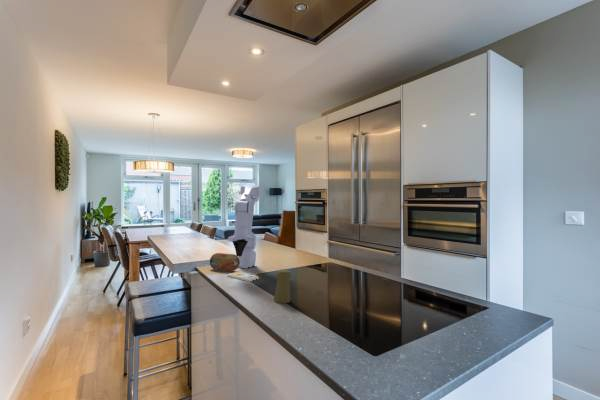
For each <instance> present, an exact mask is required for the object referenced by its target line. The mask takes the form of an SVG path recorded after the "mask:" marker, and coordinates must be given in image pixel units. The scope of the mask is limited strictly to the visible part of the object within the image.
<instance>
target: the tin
mask: <svg viewBox="0 0 600 400" xmlns="http://www.w3.org/2000/svg"><path fill="white" fill-rule="evenodd" d="M239 264H240V260H239V258H238V256H236V254H234V253H223V252H216V253H214V254H212V255H211V257H210V259H209V265H210V267H211V268H212V269H213V270H215V271H222V272H223V271H224V272H230V273H231V272H233V271H236V270H237V269H239V268H240V267H239Z"/></svg>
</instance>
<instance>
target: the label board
mask: <svg viewBox="0 0 600 400" xmlns="http://www.w3.org/2000/svg"><path fill="white" fill-rule="evenodd" d="M226 276H227V278H228V277H229V278H233V279H237V280H241V281H244V280H245V282H249V283H251V282H253V280H254V281H257V280H259V278H260V277H259V276H257V275H253V274H252V275H251V274H247V273H243V272H239V271H235V272H232V273H231V272H230V273H228V274H227V275H226ZM256 279H257V280H256Z"/></svg>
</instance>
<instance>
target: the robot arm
mask: <svg viewBox="0 0 600 400" xmlns="http://www.w3.org/2000/svg"><path fill="white" fill-rule="evenodd" d="M260 193H261V186H260V185H257V184H256V185H255V184H244V183H243V184H241V185H240V197H239V200H237V201H235V205H234V211H235V212H234V217H235V221H234V233H233V235H232V236H228V238H227V241H228V242H232V244H233V246H234V249H235V255H236V256H237V257H238V258H239V260H240V264H239V267H238V268H243V269H249V268H248V267H250V268H253V267H252V266H253V265H256V260H257V259H256V258H257V253H256V251H255V249H256V243H257V236H256V234H255V233H254V232H253V230H252V229H253V218H254V208H255V204H256V203H257V202H259V199H260Z"/></svg>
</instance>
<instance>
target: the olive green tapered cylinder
mask: <svg viewBox="0 0 600 400" xmlns="http://www.w3.org/2000/svg"><path fill="white" fill-rule="evenodd" d="M276 278H277V282H276V288H275V292H274V296H273V301H274V302H275V301H276V302H275V303H277V302H279V303H278V304H288V303H290V302H291V293H290V292H291V290H290V279H291V278H292V273H291V271H290V270H289V269H283V268H282V269H279V270H278V271H277V272H276Z"/></svg>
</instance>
